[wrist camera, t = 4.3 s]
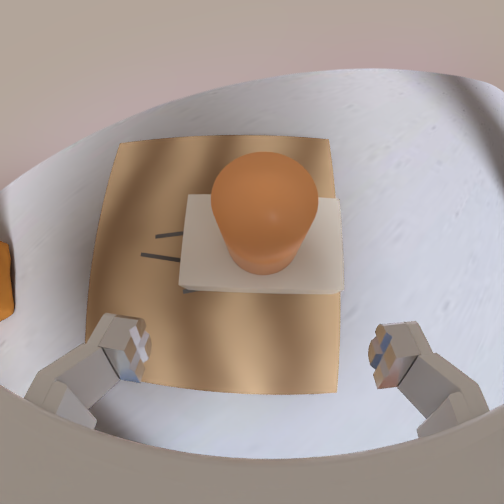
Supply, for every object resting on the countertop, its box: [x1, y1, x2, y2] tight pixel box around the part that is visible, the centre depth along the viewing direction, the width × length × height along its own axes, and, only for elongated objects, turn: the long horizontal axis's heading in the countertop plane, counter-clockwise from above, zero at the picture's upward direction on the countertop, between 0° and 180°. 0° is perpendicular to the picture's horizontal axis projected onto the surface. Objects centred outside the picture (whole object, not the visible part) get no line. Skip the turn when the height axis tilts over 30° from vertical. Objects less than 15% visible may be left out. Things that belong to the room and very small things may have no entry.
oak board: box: [85, 135, 340, 395], centre depth 20 cm, size 19×20×2 cm
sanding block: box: [178, 152, 344, 294], centre depth 15 cm, size 10×6×8 cm, turn 88°
